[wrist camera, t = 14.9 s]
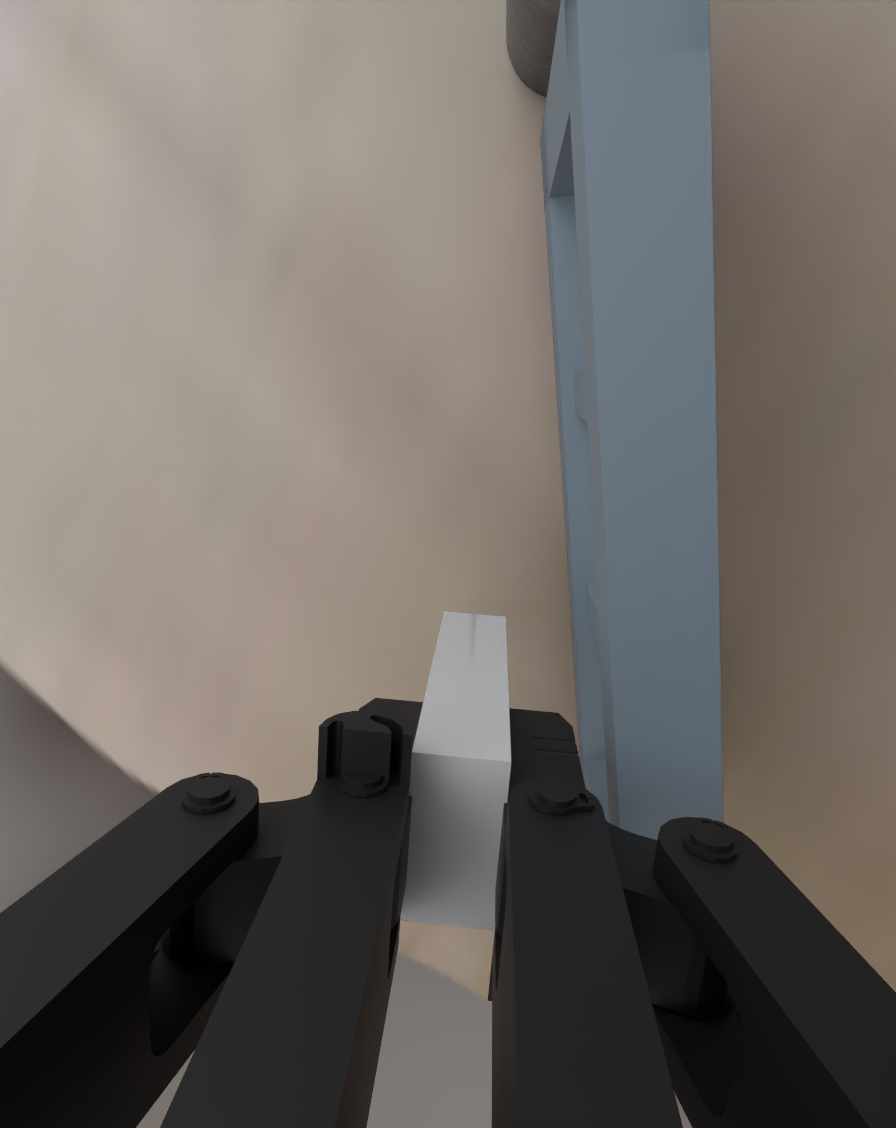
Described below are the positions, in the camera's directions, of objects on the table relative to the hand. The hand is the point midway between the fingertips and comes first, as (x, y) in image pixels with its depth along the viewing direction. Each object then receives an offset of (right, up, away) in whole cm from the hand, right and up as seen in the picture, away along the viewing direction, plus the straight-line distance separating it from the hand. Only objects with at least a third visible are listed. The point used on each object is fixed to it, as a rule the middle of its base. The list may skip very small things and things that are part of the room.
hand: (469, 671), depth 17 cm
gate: (+3, +4, +3) cm, 6 cm away
